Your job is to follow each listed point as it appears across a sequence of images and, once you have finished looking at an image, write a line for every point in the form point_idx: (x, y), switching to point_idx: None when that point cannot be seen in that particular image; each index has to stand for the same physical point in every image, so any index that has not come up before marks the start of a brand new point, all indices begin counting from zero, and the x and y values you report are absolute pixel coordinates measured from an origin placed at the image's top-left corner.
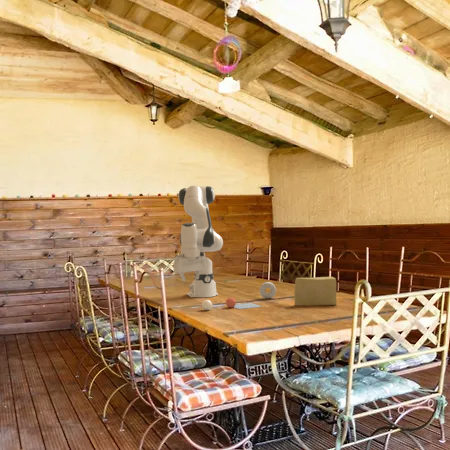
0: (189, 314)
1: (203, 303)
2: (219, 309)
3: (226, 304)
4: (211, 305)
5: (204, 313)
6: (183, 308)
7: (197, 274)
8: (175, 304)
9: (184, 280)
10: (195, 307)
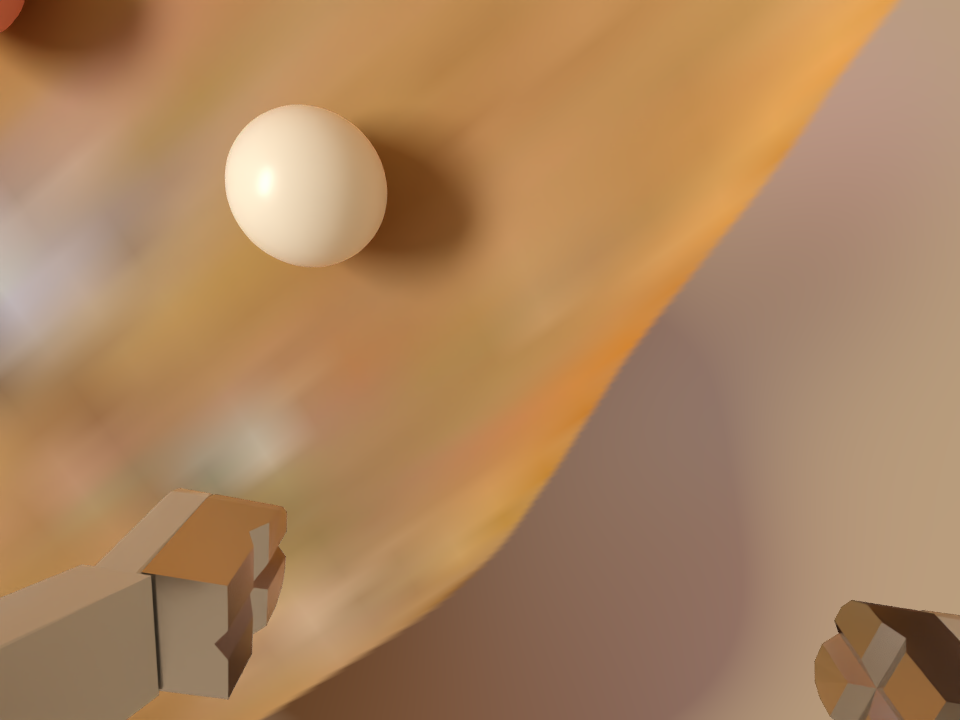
0: (668, 221)
1: (370, 207)
2: (196, 56)
3: (15, 3)
4: (295, 105)
5: (536, 71)
6: (377, 505)
7: (61, 683)
8: (245, 685)
9: (931, 616)
10: (261, 429)
